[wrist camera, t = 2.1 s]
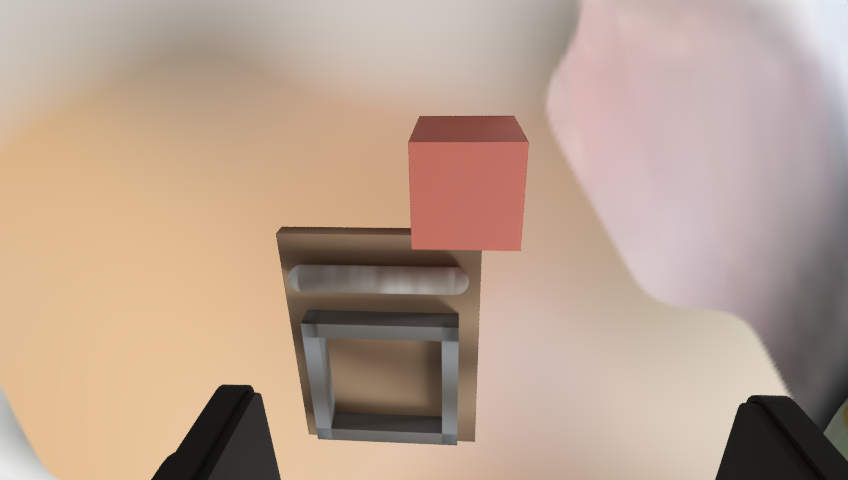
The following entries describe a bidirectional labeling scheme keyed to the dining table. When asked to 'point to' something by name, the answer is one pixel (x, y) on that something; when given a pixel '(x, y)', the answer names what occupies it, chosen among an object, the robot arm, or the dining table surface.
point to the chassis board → (383, 334)
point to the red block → (467, 183)
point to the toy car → (839, 429)
